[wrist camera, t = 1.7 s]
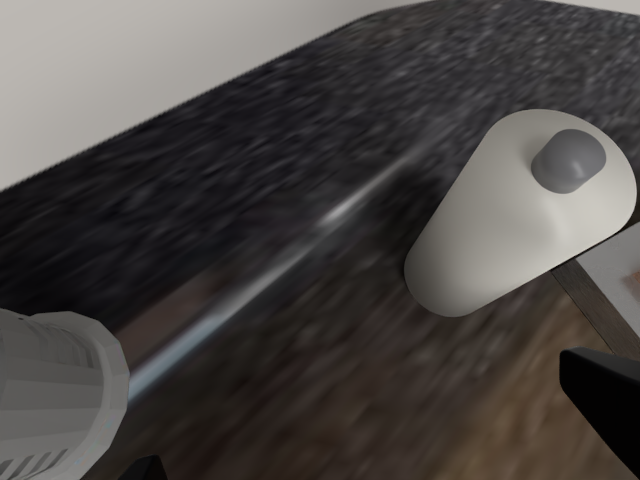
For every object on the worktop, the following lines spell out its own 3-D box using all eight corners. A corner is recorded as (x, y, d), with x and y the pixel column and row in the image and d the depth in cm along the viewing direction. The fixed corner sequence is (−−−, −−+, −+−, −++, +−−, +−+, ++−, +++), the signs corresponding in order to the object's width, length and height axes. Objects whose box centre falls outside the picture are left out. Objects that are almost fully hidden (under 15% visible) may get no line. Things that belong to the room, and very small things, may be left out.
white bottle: (508, 291, 25) (702, 183, 12) (435, 333, 24) (570, 259, 11) (457, 220, 26) (583, 65, 14) (387, 256, 25) (459, 121, 13)
